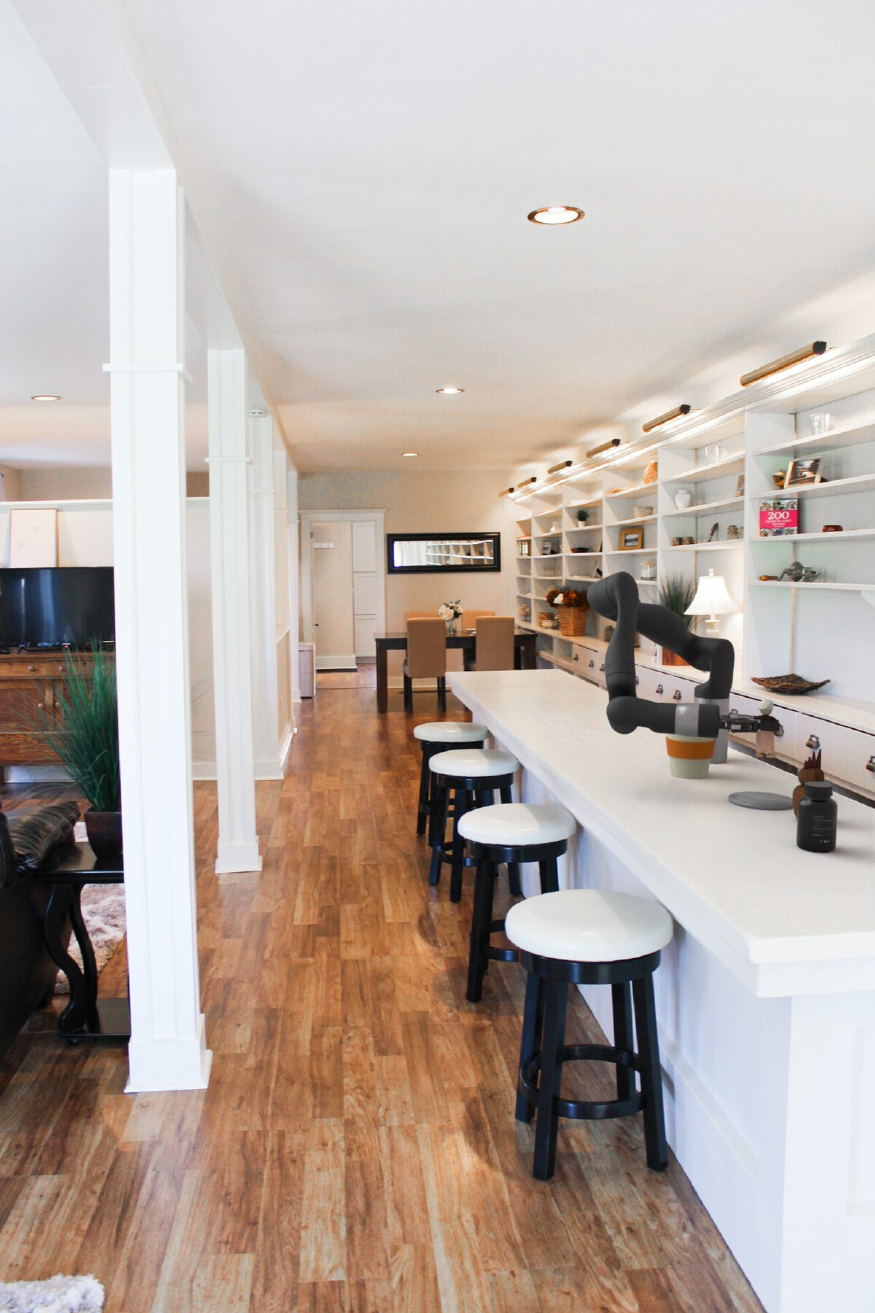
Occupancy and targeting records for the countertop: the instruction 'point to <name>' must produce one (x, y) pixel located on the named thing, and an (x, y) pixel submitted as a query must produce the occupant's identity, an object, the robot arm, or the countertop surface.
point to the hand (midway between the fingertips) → (778, 725)
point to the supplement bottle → (817, 818)
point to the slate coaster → (761, 800)
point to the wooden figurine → (807, 777)
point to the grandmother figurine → (765, 737)
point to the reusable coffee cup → (689, 755)
